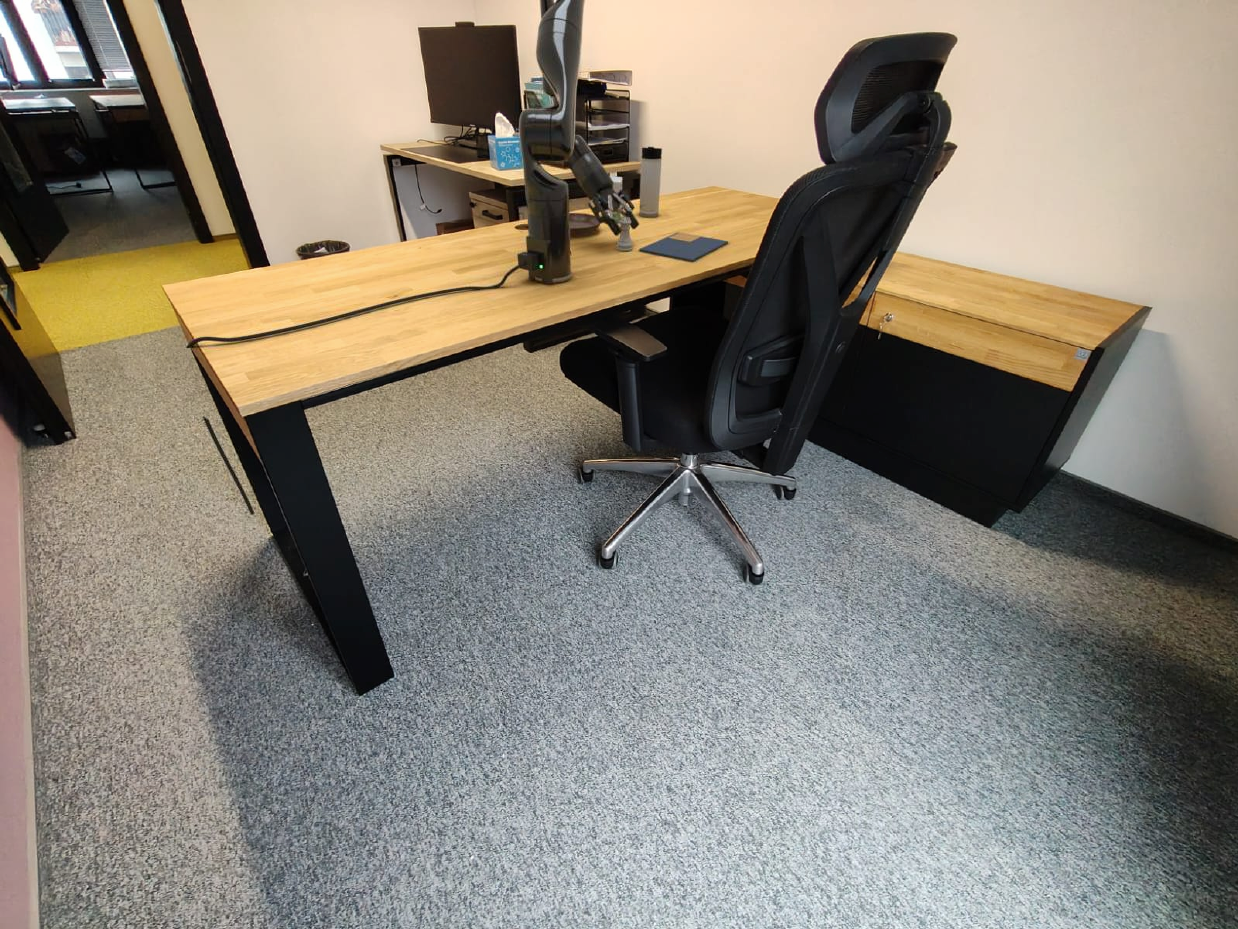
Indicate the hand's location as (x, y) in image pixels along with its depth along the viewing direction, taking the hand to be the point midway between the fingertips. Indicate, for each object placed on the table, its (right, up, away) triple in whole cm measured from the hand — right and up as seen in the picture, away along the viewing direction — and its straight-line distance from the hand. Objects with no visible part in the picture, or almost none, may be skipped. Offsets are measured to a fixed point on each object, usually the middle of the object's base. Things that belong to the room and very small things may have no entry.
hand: (628, 230), depth 147 cm
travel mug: (+7, +20, +36) cm, 42 cm away
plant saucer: (-16, +7, +18) cm, 25 cm away
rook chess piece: (-1, -4, +3) cm, 5 cm away
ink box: (-4, +16, +30) cm, 34 cm away
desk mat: (+16, -2, +6) cm, 17 cm away
